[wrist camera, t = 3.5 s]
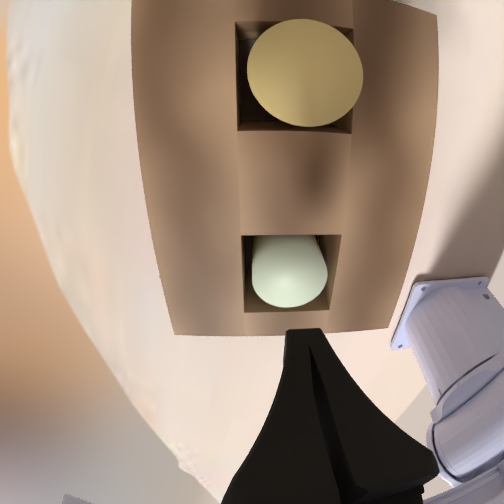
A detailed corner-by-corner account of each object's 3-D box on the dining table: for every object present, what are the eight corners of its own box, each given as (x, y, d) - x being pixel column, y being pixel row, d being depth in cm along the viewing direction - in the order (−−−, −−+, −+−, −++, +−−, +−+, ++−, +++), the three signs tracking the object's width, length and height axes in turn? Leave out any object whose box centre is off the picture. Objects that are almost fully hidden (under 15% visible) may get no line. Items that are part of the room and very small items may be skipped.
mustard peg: (332, 42, 11) (362, 26, 7) (331, 118, 13) (361, 130, 9) (247, 38, 11) (246, 17, 7) (249, 116, 13) (248, 126, 9)
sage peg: (316, 211, 18) (331, 245, 14) (311, 265, 20) (322, 306, 16) (251, 212, 18) (251, 246, 14) (252, 266, 20) (252, 308, 17)
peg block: (397, 26, 12) (436, 15, 8) (368, 287, 22) (387, 328, 18) (160, 17, 12) (131, -2, 8) (186, 291, 22) (174, 334, 18)
